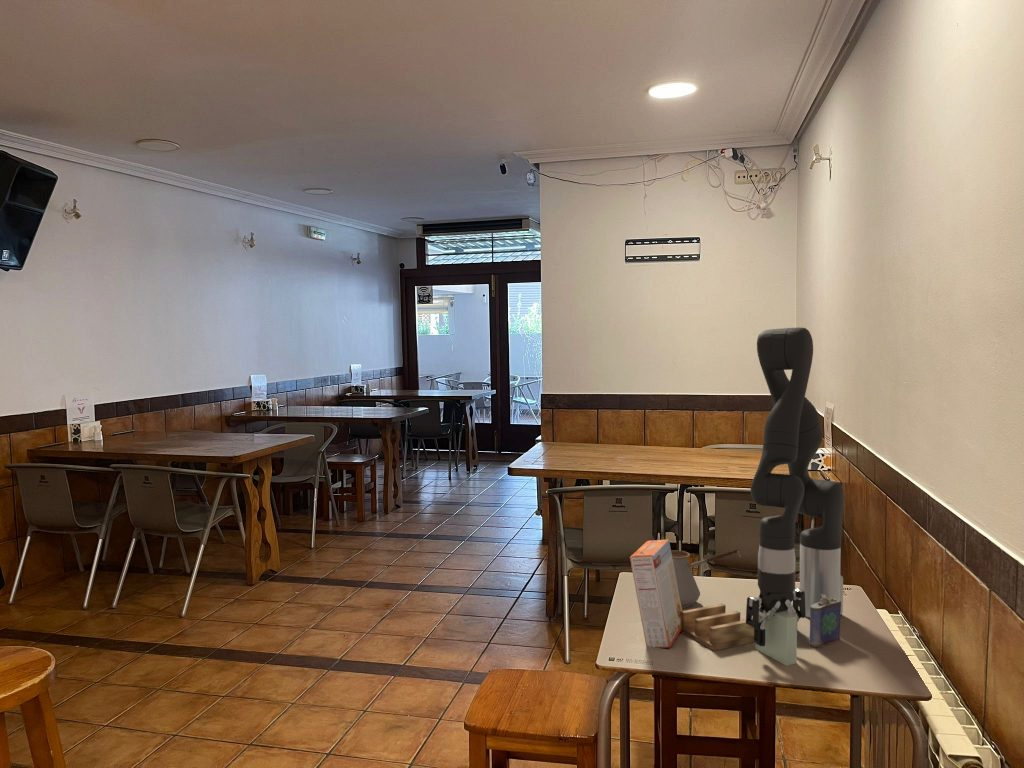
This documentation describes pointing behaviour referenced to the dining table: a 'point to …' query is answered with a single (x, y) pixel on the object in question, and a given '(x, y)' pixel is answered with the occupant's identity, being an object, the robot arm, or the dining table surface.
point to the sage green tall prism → (781, 638)
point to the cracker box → (657, 593)
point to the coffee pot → (690, 575)
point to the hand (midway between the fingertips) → (775, 641)
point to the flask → (825, 621)
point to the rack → (716, 627)
